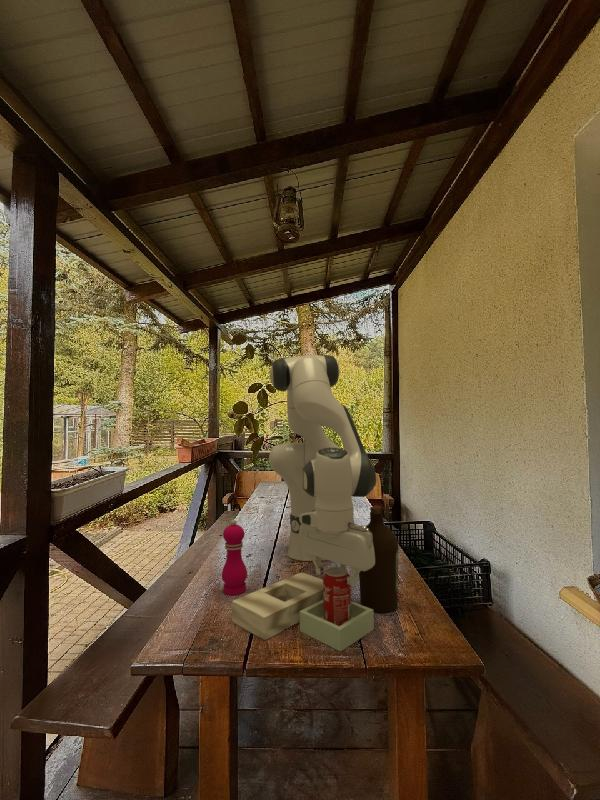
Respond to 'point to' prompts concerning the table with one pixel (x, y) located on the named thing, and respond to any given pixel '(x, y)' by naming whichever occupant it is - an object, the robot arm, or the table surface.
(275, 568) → the table surface
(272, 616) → the socket beam
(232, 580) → the pepper mill
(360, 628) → the shallow square tray
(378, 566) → the olive oil
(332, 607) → the beverage can
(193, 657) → the table surface
